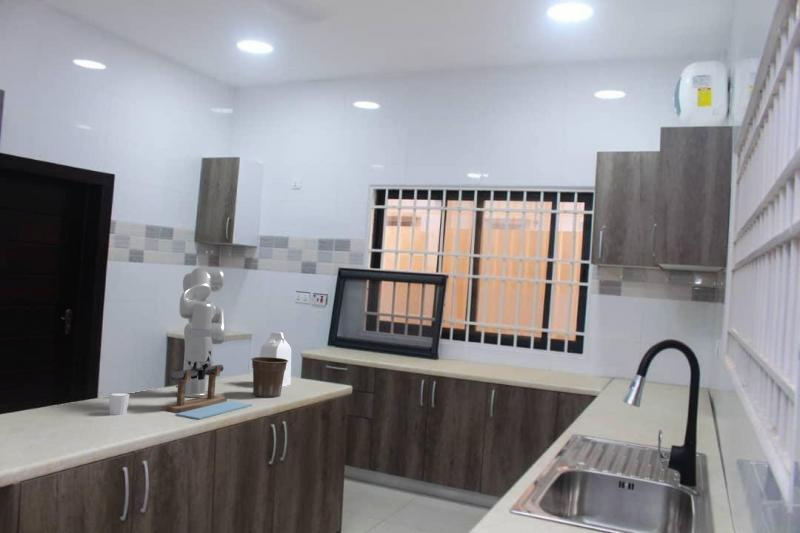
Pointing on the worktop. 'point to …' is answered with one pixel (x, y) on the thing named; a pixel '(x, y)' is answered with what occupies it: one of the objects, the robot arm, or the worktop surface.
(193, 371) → the rod
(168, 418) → the worktop surface
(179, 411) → the rack
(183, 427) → the worktop surface
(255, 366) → the plant pot
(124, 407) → the white cup
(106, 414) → the worktop surface
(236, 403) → the mat
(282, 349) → the milk
